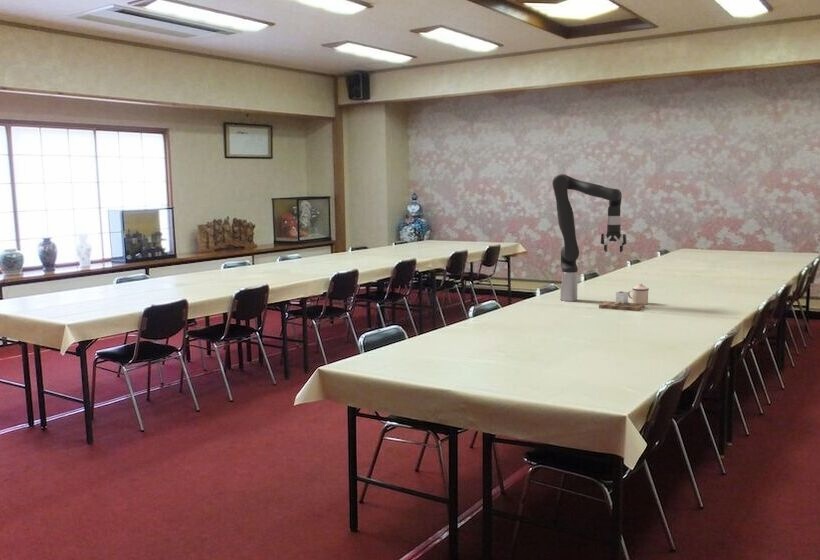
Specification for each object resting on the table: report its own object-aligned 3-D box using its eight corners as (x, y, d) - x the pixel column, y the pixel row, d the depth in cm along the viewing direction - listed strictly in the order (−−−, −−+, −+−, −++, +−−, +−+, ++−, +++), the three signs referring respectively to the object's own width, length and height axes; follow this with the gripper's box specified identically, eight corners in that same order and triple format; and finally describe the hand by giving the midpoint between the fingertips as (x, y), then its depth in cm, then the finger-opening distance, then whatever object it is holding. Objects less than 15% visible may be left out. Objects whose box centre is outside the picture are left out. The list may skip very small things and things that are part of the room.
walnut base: (598, 308, 415) (598, 303, 415) (605, 304, 426) (605, 299, 426) (638, 311, 404) (638, 306, 403) (644, 307, 415) (644, 302, 414)
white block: (622, 301, 419) (622, 290, 418) (629, 302, 416) (629, 291, 415) (614, 303, 413) (614, 292, 412) (621, 303, 410) (621, 292, 409)
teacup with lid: (650, 303, 429) (651, 283, 427) (644, 305, 422) (645, 285, 420) (630, 301, 436) (631, 281, 434) (624, 303, 429) (625, 283, 427)
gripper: (628, 223, 424) (627, 251, 426) (603, 223, 431) (603, 250, 433) (624, 224, 417) (623, 252, 420) (599, 223, 425) (599, 252, 427)
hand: (613, 251), depth 426 cm, fingers open, 8 cm apart
